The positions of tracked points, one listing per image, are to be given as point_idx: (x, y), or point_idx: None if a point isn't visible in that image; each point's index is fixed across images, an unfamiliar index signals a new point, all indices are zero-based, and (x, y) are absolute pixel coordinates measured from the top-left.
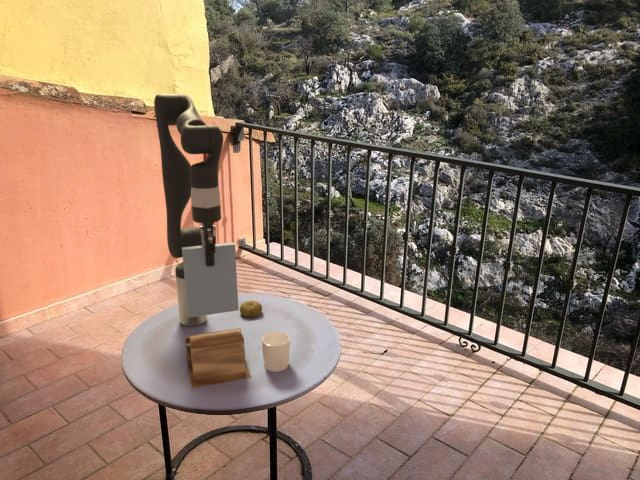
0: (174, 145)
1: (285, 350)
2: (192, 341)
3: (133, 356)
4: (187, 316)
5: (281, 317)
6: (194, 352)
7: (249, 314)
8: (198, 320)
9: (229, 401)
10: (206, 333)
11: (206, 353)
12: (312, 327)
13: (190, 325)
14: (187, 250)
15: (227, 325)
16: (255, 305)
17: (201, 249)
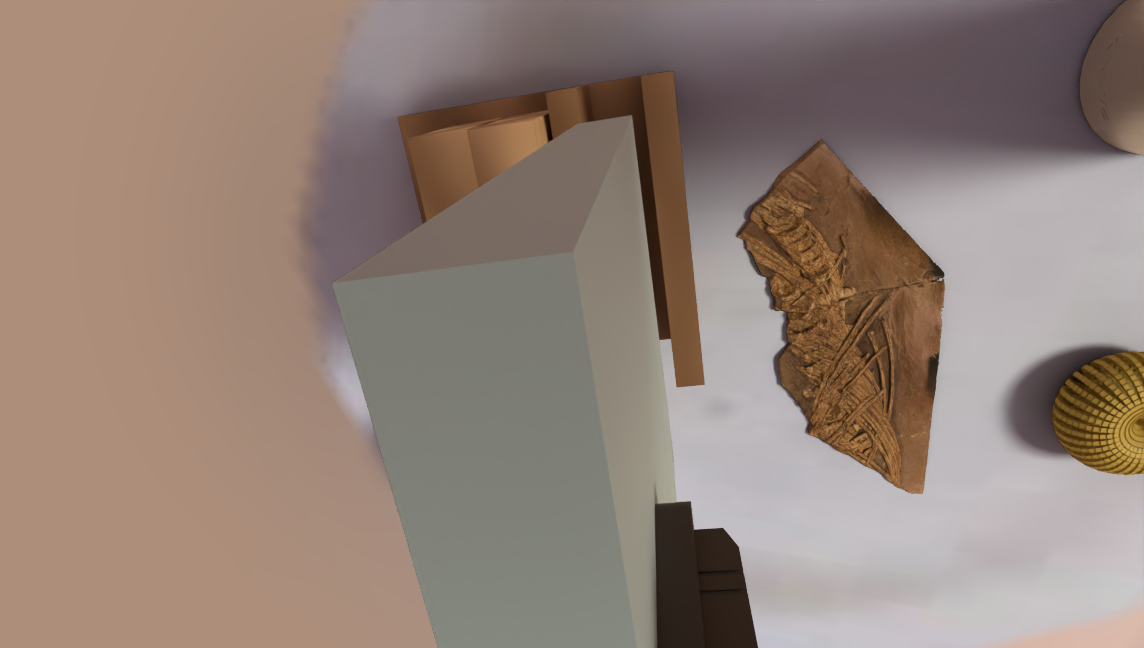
0: None
1: None
2: (469, 142)
3: None
4: (1140, 34)
5: (993, 528)
6: (430, 150)
7: (1093, 392)
8: (1100, 108)
9: (346, 267)
10: (680, 202)
11: (426, 214)
12: (841, 623)
13: (1089, 53)
14: (392, 408)
15: (1008, 272)
16: (1112, 452)
17: None
